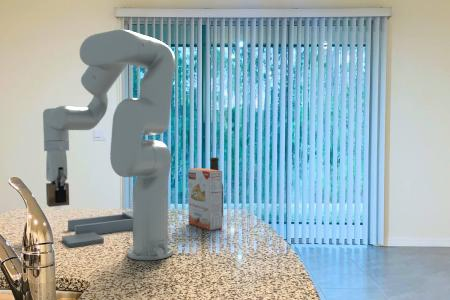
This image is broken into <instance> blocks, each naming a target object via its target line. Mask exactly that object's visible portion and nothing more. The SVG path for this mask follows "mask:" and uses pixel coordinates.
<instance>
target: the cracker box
mask: <svg viewBox="0 0 450 300" xmlns="http://www.w3.org/2000/svg"><path fill="white" fill-rule="evenodd" d="M187 171H188V173H187V174H188V175H187V176H188V179H187V180H188V181H187V182H188V183H187V184H188V186H187V187H188V188H187V190H188V193H187V194H188V224H190V225H192V226H195V227H198V228H201V229H204V230H206V231H210V232H211V231H216V230H222V229H223V216H222V184H223V170H211V168H204V167H203V168H202V167H192V168H188V169H187Z"/></svg>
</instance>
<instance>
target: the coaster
mask: <svg viewBox="0 0 450 300" xmlns="http://www.w3.org/2000/svg"><path fill="white" fill-rule="evenodd" d="M61 241H62V242H64V244H65V245H66V246H68V248H76V247H82V246H83V247H84V246H90V245H95V244H102V243H105V238H104V237H102V236H101V235H100V234H97V233H95V232H91V233H83V234H76V235H75V234H70V235H63V236H61Z"/></svg>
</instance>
